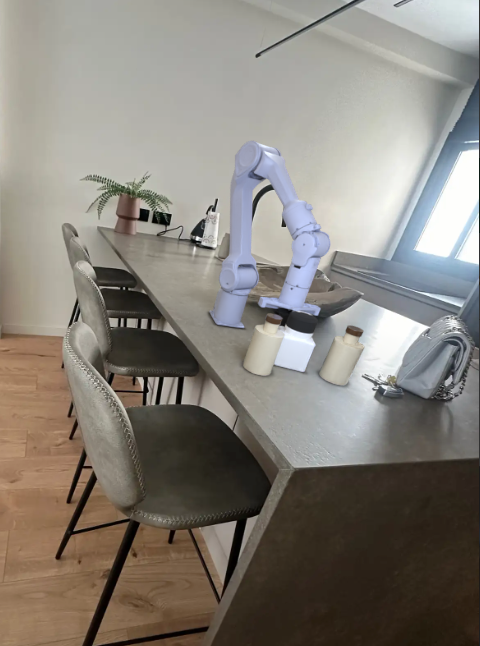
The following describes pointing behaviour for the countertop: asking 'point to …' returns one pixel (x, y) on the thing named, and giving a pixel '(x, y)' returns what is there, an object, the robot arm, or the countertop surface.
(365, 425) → the countertop surface
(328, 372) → the cream bottle far
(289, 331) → the medicine bottle
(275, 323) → the cream bottle near
